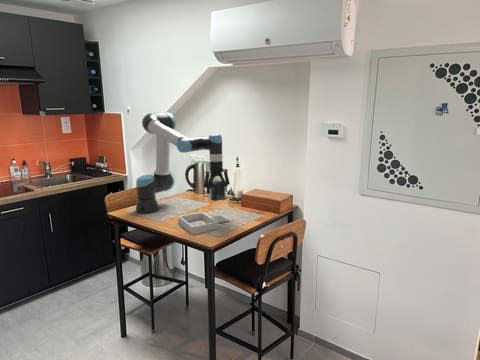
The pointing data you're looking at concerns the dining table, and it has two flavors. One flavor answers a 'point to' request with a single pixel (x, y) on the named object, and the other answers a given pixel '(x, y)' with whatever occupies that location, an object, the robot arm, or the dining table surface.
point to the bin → (209, 226)
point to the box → (217, 190)
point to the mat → (220, 219)
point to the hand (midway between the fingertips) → (217, 197)
